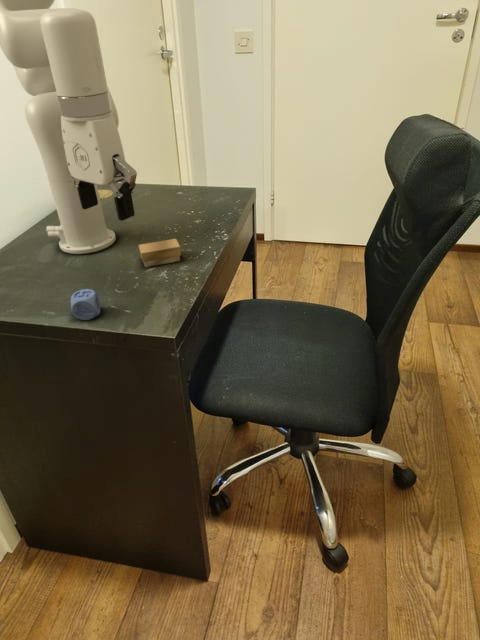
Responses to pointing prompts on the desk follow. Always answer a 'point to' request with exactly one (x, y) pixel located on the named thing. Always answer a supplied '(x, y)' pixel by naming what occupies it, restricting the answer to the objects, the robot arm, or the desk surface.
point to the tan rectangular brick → (160, 252)
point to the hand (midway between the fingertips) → (108, 212)
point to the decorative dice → (85, 304)
